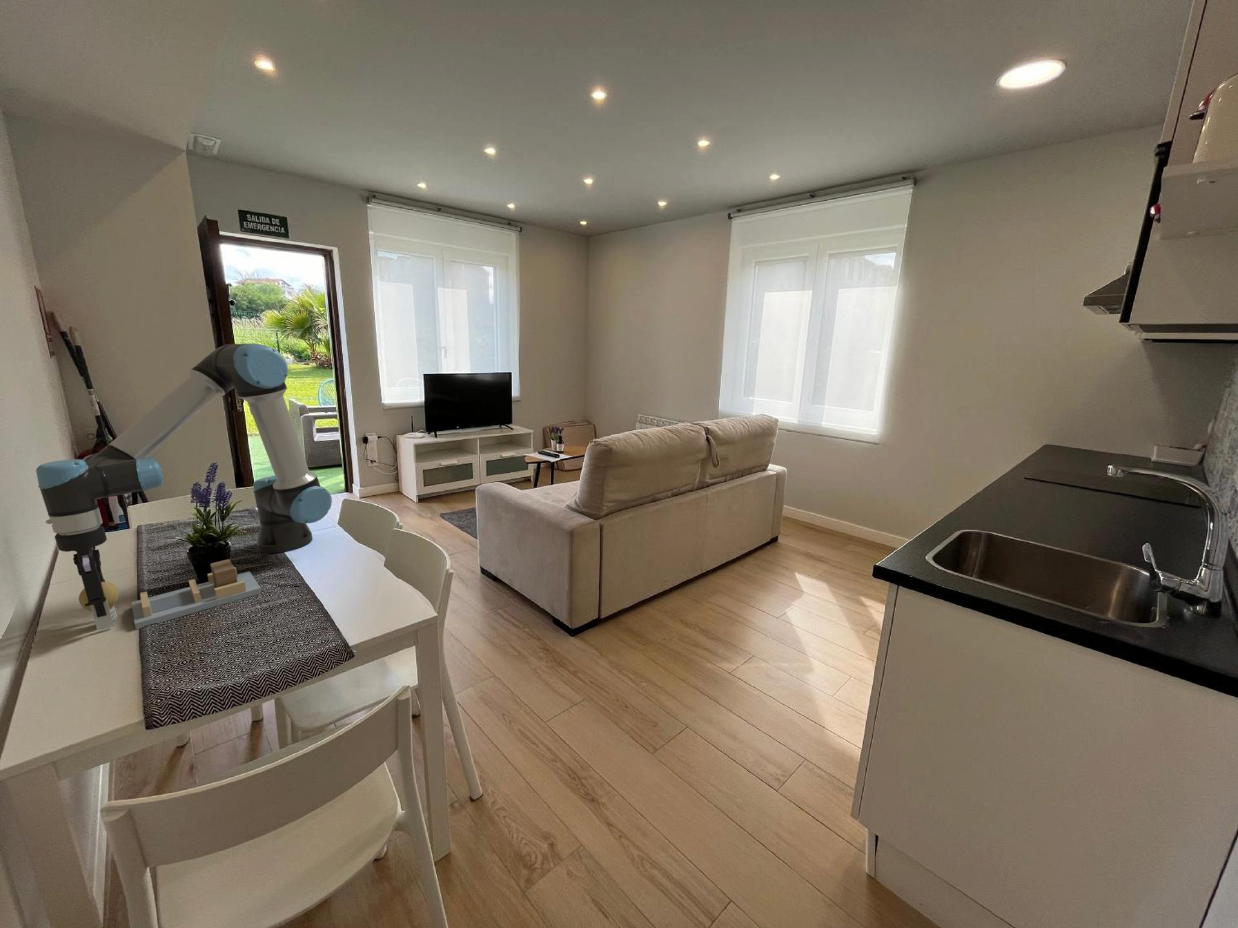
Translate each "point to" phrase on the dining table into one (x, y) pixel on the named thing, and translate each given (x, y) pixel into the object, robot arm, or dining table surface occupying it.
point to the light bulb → (110, 594)
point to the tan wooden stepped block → (223, 573)
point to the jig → (191, 599)
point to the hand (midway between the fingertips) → (105, 621)
